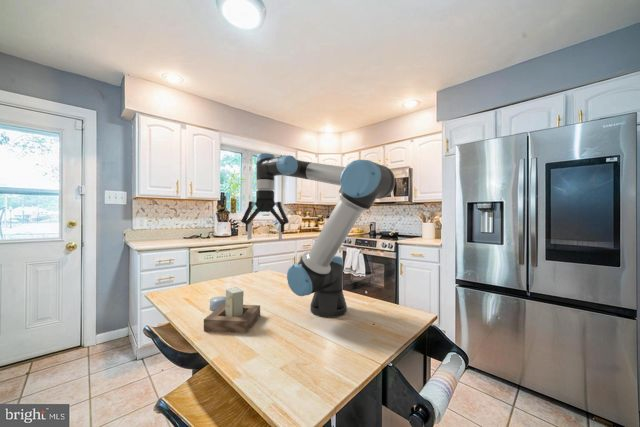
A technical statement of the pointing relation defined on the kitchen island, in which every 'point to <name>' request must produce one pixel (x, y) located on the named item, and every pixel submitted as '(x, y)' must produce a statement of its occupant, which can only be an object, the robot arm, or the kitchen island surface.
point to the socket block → (232, 320)
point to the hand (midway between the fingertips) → (264, 239)
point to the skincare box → (234, 302)
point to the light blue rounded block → (217, 302)
